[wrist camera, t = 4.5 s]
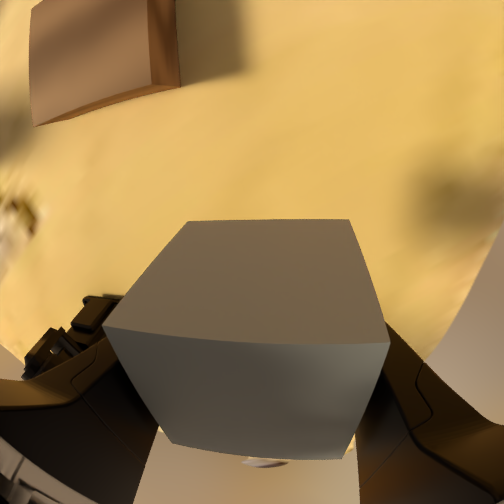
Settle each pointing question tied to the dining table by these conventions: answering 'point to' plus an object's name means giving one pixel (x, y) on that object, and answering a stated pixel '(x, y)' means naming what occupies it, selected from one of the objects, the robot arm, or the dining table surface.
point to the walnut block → (99, 54)
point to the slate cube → (255, 337)
